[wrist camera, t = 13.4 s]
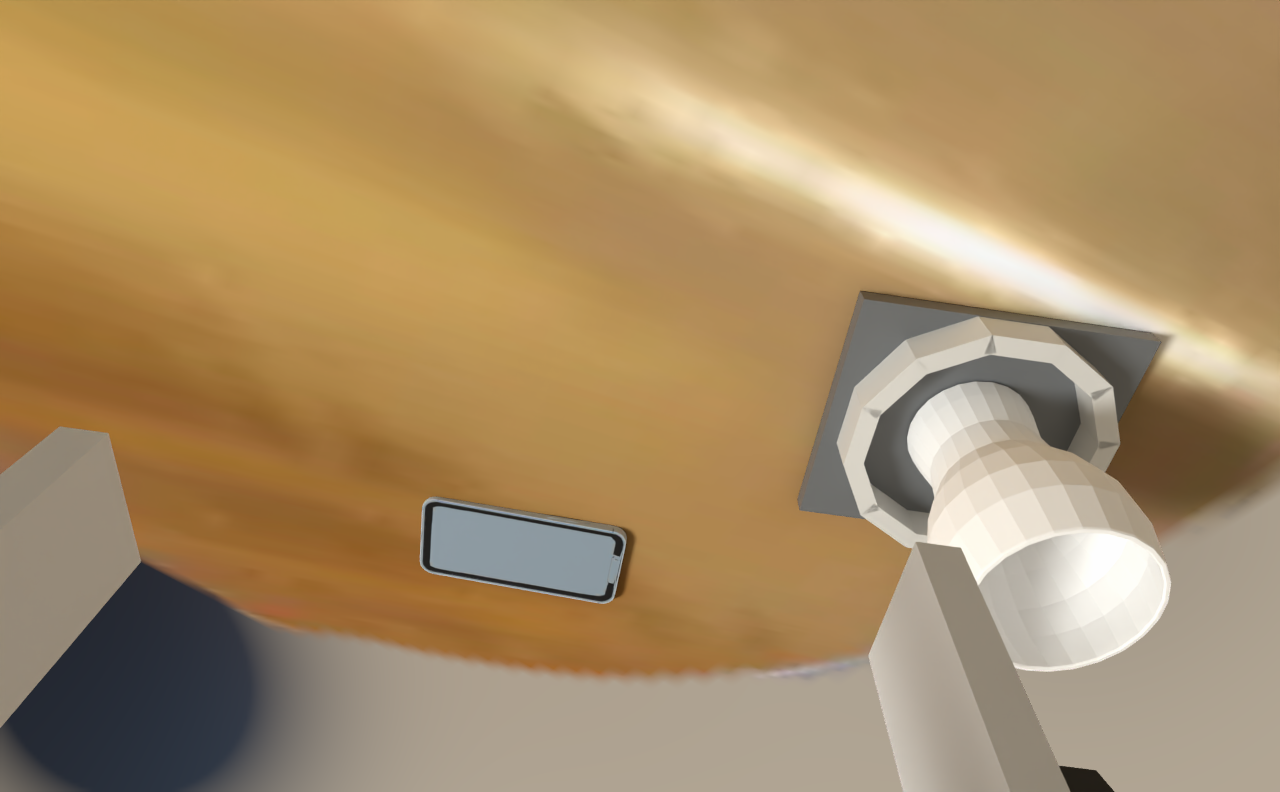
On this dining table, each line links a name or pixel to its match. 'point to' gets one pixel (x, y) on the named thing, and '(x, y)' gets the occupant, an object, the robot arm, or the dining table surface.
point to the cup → (1037, 530)
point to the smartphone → (521, 549)
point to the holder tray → (942, 358)
